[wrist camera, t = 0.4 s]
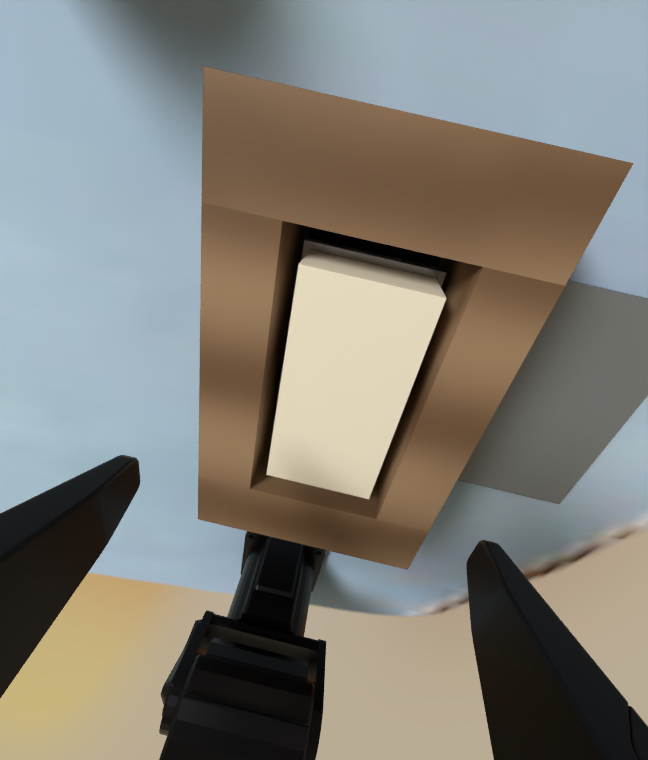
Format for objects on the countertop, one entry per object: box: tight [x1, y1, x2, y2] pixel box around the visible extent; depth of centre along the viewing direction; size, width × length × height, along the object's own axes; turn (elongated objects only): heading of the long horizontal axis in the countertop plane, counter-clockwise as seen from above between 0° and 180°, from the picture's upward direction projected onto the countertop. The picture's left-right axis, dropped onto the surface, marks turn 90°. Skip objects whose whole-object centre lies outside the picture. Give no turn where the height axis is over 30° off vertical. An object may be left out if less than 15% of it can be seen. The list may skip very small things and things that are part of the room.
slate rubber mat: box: [458, 280, 648, 504], centre depth 20 cm, size 13×8×1 cm, turn 169°
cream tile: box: [266, 250, 446, 499], centre depth 15 cm, size 10×5×2 cm, turn 169°
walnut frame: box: [198, 66, 633, 569], centre depth 17 cm, size 19×12×6 cm, turn 169°
